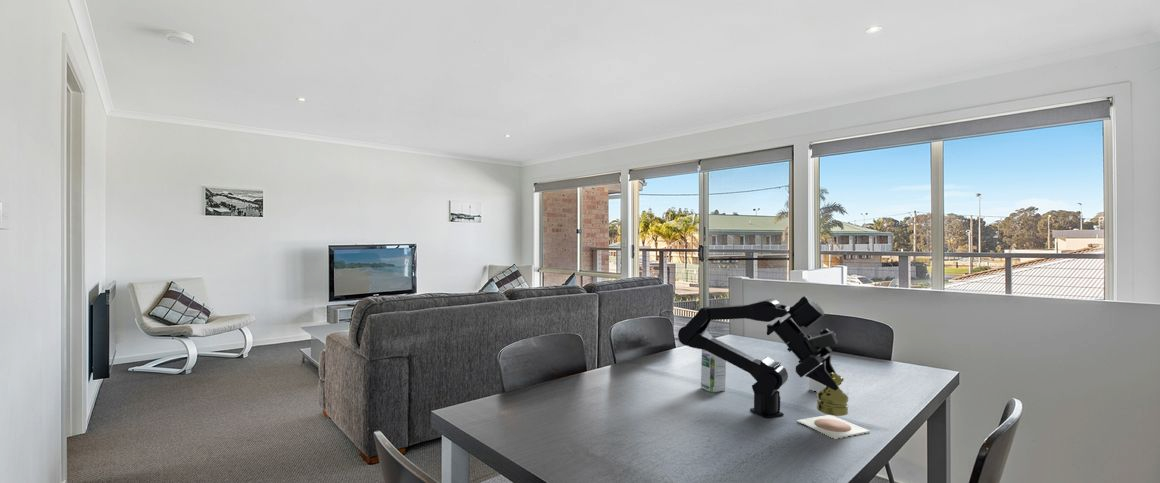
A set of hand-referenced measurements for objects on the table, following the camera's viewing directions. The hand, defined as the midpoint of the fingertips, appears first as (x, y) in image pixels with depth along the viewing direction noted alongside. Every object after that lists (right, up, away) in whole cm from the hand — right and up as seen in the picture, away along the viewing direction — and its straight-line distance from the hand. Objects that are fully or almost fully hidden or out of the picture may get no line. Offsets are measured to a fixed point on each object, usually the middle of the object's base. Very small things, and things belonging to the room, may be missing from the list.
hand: (838, 386), depth 128 cm
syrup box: (-24, -10, +32) cm, 41 cm away
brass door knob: (-1, -7, +1) cm, 7 cm away
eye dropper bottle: (+10, -11, +31) cm, 34 cm away
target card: (-1, -11, +1) cm, 11 cm away
